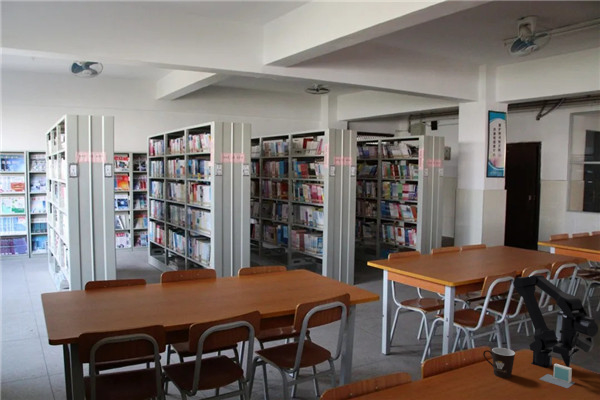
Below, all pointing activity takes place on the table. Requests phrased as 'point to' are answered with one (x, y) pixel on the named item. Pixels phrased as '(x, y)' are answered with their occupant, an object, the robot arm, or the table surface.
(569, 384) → the mat
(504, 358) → the coffee mug
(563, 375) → the tile
